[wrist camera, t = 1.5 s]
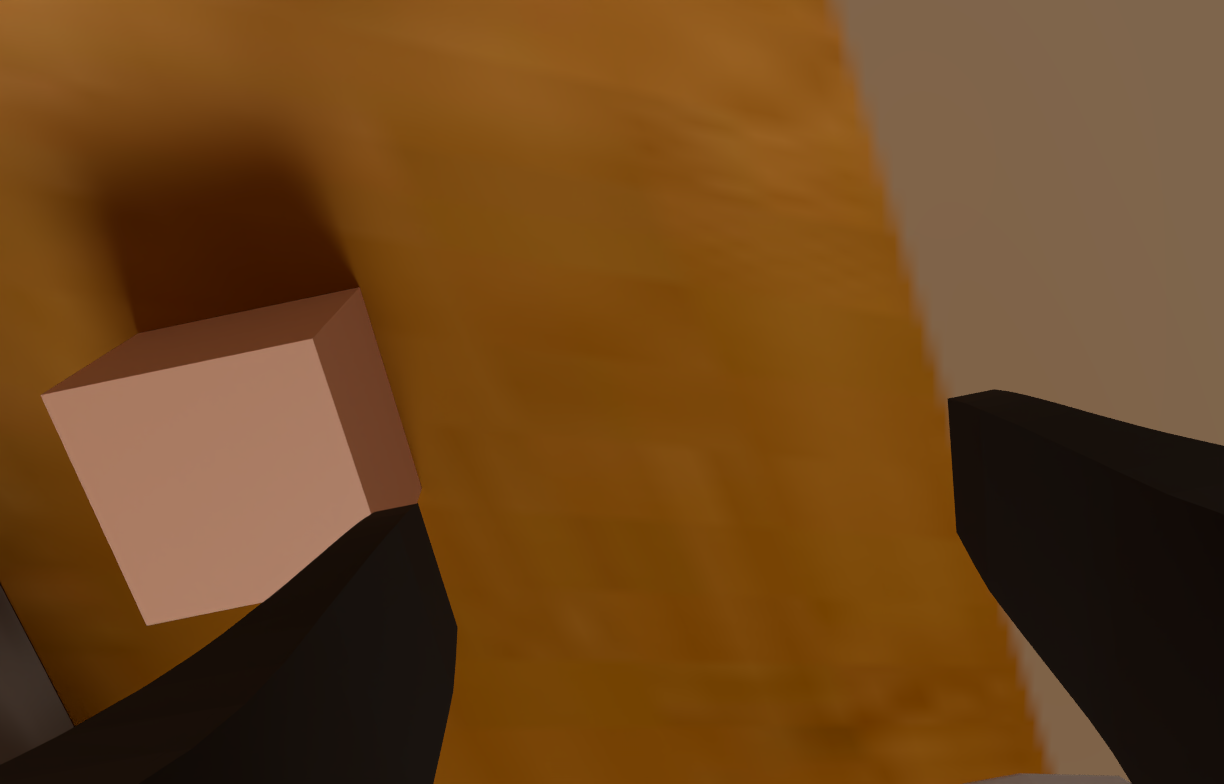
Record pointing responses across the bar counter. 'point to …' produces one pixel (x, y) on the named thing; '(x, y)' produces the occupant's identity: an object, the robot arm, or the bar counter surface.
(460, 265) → the bar counter surface
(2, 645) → the gray rectangular bar
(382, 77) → the bar counter surface
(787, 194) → the bar counter surface
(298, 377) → the block
